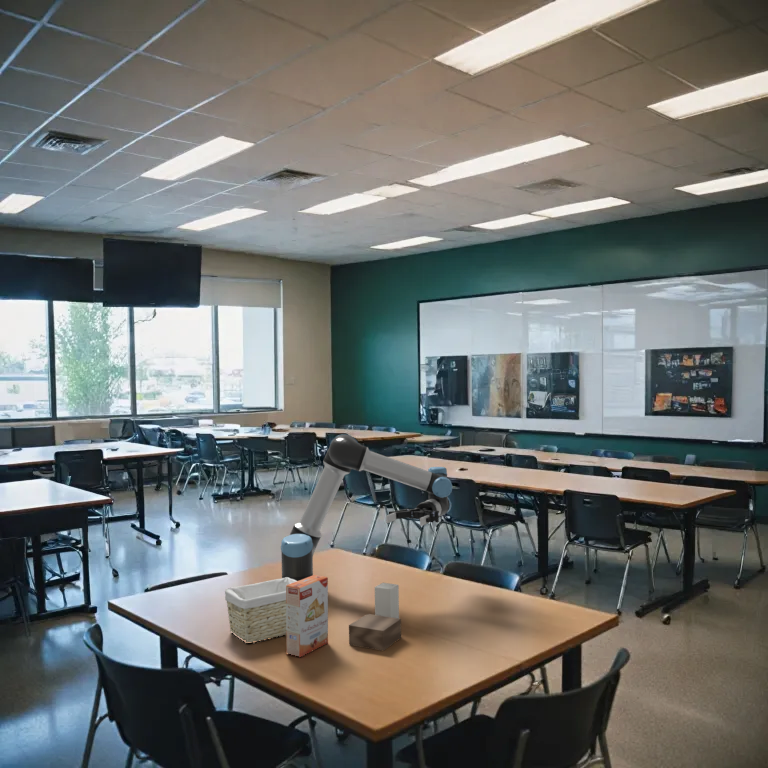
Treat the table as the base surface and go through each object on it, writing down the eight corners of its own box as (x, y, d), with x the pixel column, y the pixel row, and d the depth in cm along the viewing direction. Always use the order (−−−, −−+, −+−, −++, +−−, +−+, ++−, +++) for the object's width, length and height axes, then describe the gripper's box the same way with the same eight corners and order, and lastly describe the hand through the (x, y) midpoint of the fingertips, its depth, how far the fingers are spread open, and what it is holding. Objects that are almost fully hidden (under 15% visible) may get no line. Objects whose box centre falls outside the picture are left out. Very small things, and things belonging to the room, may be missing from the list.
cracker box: (301, 658, 208) (300, 587, 208) (285, 655, 211) (284, 584, 211) (329, 643, 220) (328, 576, 220) (314, 640, 223) (313, 573, 223)
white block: (375, 622, 239) (374, 587, 239) (383, 617, 244) (382, 582, 244) (390, 625, 236) (390, 589, 236) (399, 619, 241) (398, 584, 241)
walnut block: (349, 644, 219) (348, 625, 219) (368, 632, 229) (367, 613, 229) (383, 650, 213) (383, 630, 213) (401, 637, 224) (400, 618, 224)
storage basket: (243, 647, 218) (242, 599, 218) (223, 633, 231) (222, 588, 231) (312, 631, 232) (311, 586, 232) (289, 618, 245) (288, 575, 245)
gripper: (458, 522, 267) (435, 533, 248) (399, 518, 279) (373, 528, 260) (458, 502, 267) (435, 512, 248) (399, 499, 279) (373, 508, 260)
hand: (403, 520), depth 254 cm, fingers open, 13 cm apart
